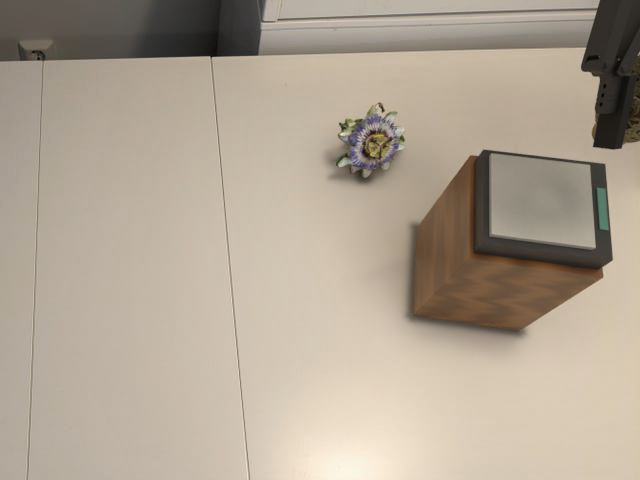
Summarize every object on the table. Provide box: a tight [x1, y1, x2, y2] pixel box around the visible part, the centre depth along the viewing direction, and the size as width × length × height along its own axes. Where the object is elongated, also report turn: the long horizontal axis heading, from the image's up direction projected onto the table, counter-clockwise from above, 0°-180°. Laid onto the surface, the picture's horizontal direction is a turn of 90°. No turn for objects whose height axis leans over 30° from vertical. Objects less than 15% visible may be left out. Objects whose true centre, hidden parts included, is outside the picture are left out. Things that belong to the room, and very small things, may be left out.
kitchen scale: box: [474, 148, 614, 270], centre depth 70 cm, size 15×14×3 cm
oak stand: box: [412, 154, 604, 332], centre depth 80 cm, size 16×16×18 cm
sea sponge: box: [591, 54, 640, 146], centre depth 56 cm, size 8×7×8 cm
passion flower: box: [334, 101, 407, 179], centre depth 93 cm, size 11×11×12 cm
